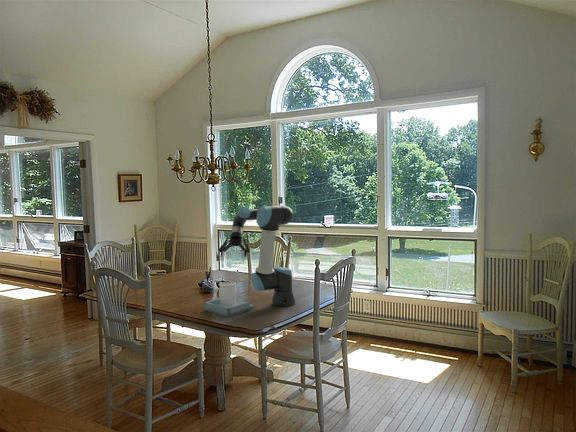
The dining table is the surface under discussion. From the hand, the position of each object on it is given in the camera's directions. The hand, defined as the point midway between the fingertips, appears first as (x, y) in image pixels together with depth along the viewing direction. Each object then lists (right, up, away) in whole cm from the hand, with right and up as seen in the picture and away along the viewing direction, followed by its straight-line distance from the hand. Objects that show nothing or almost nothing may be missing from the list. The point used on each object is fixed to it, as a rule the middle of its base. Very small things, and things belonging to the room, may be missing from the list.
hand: (232, 260), depth 283 cm
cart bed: (0, -29, -12) cm, 31 cm away
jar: (-1, -28, -13) cm, 31 cm away
